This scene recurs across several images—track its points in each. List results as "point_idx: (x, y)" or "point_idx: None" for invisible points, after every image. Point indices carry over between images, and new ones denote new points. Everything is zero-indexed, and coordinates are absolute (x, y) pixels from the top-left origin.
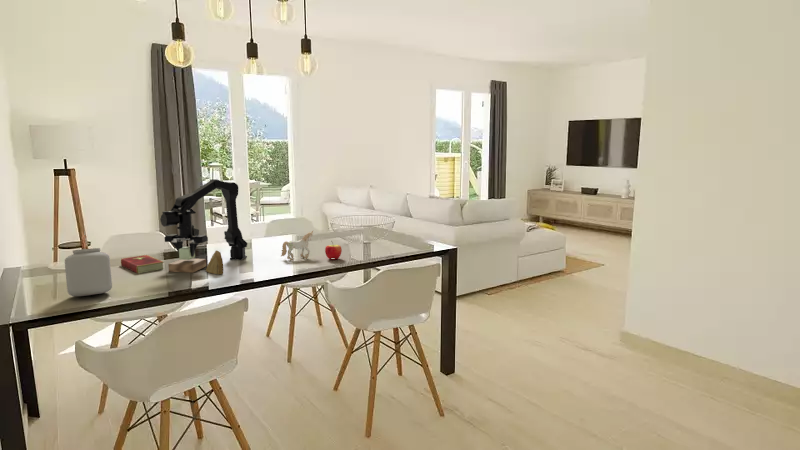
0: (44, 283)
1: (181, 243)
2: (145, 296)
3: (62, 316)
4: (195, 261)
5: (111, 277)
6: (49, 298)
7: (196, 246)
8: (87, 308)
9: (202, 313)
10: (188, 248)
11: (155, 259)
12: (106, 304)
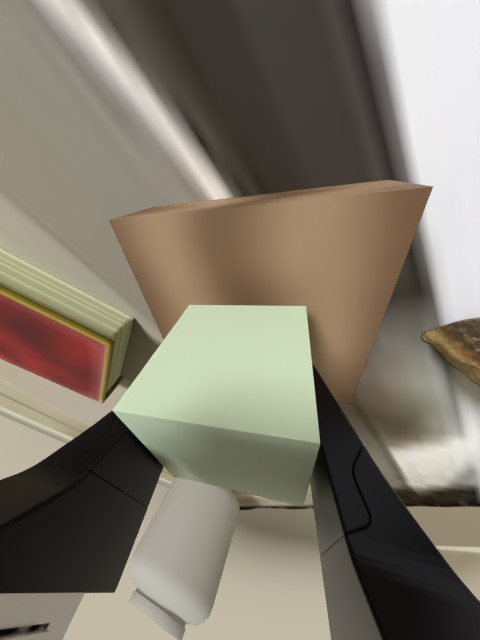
0: (58, 426)
1: (69, 524)
2: (311, 495)
3: (249, 509)
4: (327, 326)
5: (221, 519)
6: (162, 472)
7: (416, 533)
8: (255, 503)
9: (475, 554)
10: (262, 480)
11: (8, 301)
12: (269, 501)
